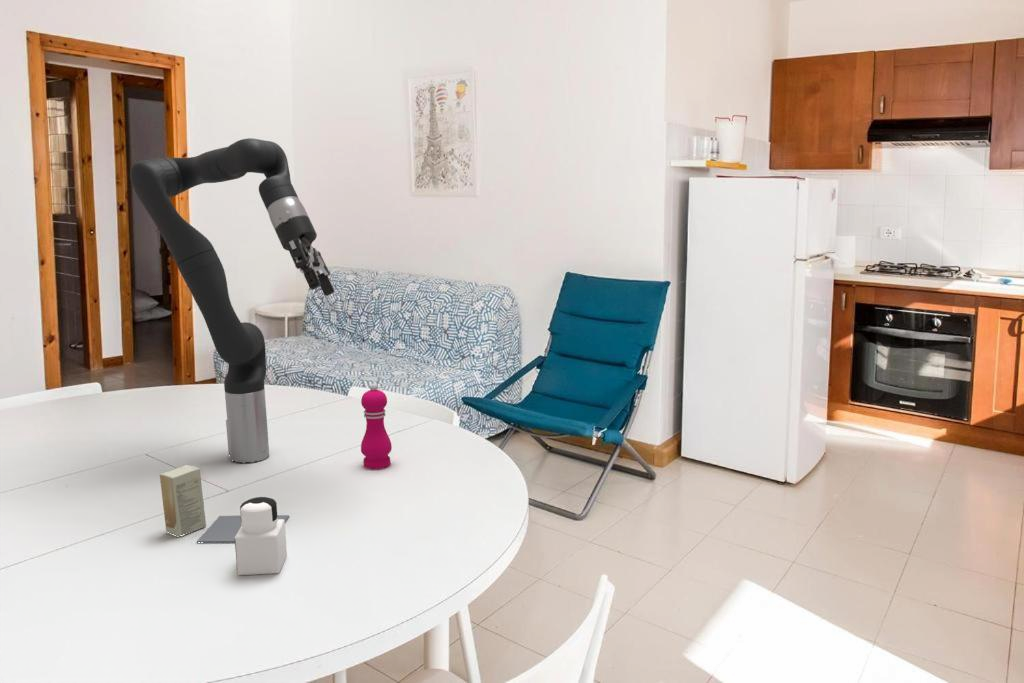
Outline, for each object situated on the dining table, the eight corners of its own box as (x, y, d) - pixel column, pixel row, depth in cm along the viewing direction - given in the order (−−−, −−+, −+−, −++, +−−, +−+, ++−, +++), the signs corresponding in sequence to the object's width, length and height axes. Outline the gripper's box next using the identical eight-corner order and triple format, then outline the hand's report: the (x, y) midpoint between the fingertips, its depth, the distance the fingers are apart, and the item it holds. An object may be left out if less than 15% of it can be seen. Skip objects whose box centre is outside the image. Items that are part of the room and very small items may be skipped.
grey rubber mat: (196, 543, 152) (196, 541, 152) (220, 517, 164) (219, 515, 164) (271, 542, 152) (271, 540, 152) (289, 517, 163) (289, 515, 163)
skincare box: (193, 522, 162) (188, 463, 159) (207, 527, 159) (201, 467, 157) (164, 533, 156) (158, 473, 154) (177, 538, 154) (171, 477, 152)
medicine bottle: (246, 557, 146) (241, 494, 144) (287, 555, 146) (283, 492, 144) (237, 576, 139) (231, 509, 137) (279, 574, 139) (275, 508, 137)
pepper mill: (386, 471, 189) (382, 387, 186) (356, 469, 191) (352, 386, 187) (396, 461, 196) (393, 380, 193) (368, 459, 198) (364, 379, 194)
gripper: (289, 239, 178) (319, 304, 176) (262, 223, 164) (294, 293, 162) (319, 223, 178) (349, 288, 176) (294, 206, 164) (327, 276, 162)
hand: (323, 290), depth 169 cm, fingers open, 8 cm apart
